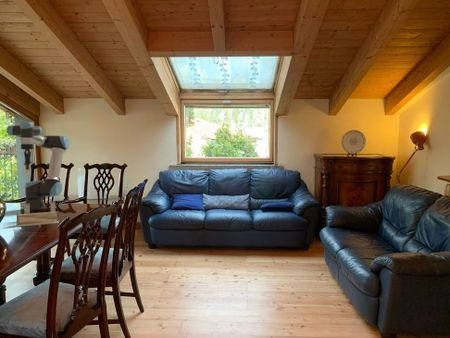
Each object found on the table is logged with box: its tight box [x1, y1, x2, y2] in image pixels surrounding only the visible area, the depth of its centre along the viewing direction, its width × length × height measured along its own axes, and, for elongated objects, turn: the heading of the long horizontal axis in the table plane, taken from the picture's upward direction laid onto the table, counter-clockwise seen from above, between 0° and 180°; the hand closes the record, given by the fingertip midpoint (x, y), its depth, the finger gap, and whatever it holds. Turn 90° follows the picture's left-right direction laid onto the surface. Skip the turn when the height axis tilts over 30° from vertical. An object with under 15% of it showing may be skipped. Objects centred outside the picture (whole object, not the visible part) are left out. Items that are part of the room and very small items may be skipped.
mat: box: [16, 220, 60, 228], centre depth 210 cm, size 10×24×1 cm, turn 120°
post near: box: [23, 203, 31, 214], centre depth 218 cm, size 6×5×11 cm
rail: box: [16, 210, 60, 226], centre depth 210 cm, size 4×24×6 cm, turn 120°
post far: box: [50, 201, 56, 212], centre depth 226 cm, size 6×5×11 cm
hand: (28, 173), depth 223 cm, fingers open, 13 cm apart
